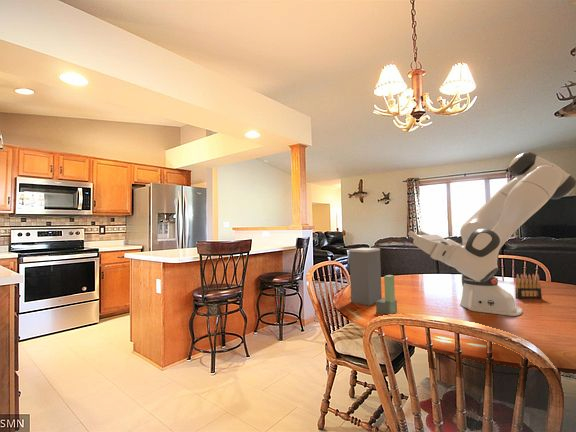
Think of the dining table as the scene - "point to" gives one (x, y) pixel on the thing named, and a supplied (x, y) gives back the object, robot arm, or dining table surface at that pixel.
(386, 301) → the green l-shaped block
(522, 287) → the ammunition clip
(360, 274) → the stand
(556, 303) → the dining table surface
